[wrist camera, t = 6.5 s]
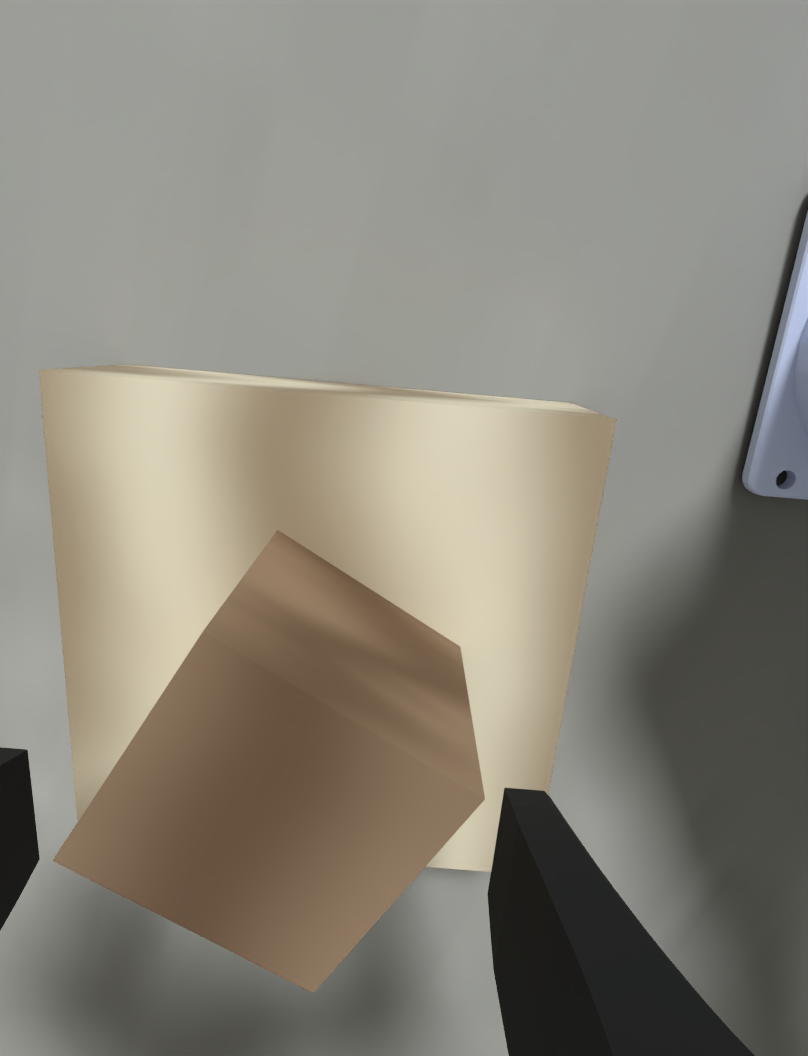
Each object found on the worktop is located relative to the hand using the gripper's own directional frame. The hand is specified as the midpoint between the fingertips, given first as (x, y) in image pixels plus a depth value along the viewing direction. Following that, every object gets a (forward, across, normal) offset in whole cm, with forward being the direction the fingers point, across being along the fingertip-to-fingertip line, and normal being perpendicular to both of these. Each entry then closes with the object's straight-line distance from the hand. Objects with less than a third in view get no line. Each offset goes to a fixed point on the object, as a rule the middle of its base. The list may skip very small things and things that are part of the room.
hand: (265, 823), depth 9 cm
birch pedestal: (+9, 0, 0) cm, 9 cm away
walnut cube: (+5, 0, 0) cm, 5 cm away
